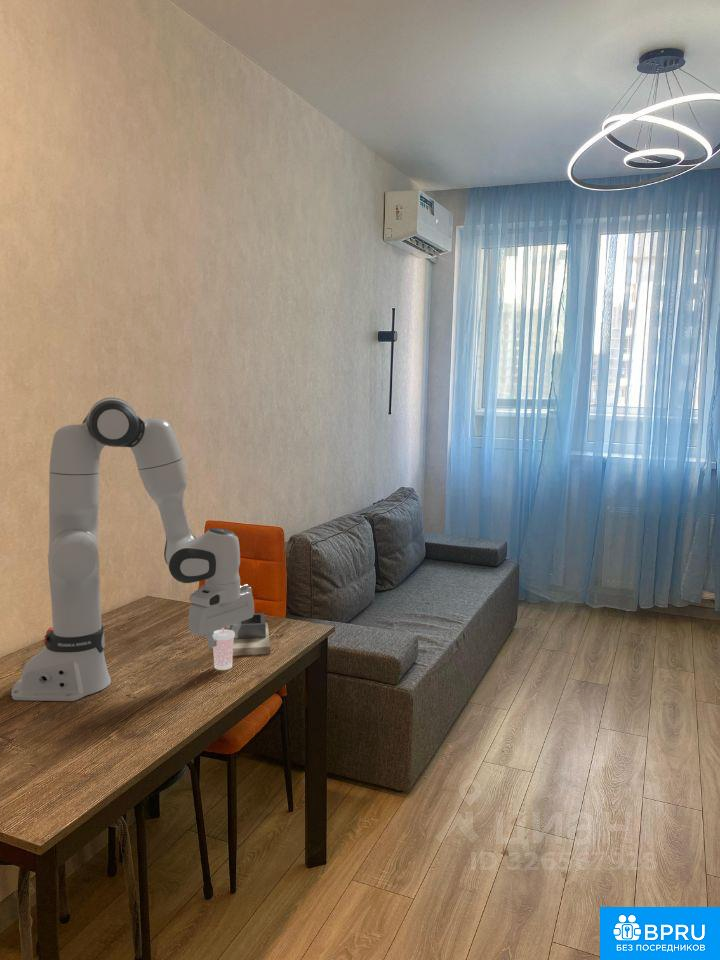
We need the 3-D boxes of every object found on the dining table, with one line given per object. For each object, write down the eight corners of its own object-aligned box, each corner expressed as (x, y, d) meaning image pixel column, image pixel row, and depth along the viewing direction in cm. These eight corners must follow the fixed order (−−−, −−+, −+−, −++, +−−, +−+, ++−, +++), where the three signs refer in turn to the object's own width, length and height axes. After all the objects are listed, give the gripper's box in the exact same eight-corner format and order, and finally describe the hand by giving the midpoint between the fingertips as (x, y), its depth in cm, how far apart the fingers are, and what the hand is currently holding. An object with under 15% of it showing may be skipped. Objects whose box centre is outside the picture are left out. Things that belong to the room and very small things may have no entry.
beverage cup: (220, 660, 199) (220, 609, 197) (239, 664, 197) (239, 612, 195) (206, 668, 194) (205, 616, 192) (226, 672, 191) (225, 619, 189)
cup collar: (229, 639, 210) (229, 626, 209) (230, 627, 220) (229, 614, 219) (265, 637, 212) (265, 624, 211) (264, 626, 221) (264, 613, 221)
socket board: (226, 656, 203) (225, 649, 203) (227, 631, 223) (226, 624, 223) (270, 653, 205) (270, 646, 205) (267, 629, 225) (267, 622, 224)
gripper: (242, 580, 203) (242, 629, 204) (184, 597, 186) (184, 650, 188) (259, 584, 199) (259, 634, 201) (201, 602, 183) (202, 656, 184)
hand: (222, 642), depth 194 cm, fingers closed on beverage cup, 6 cm apart
